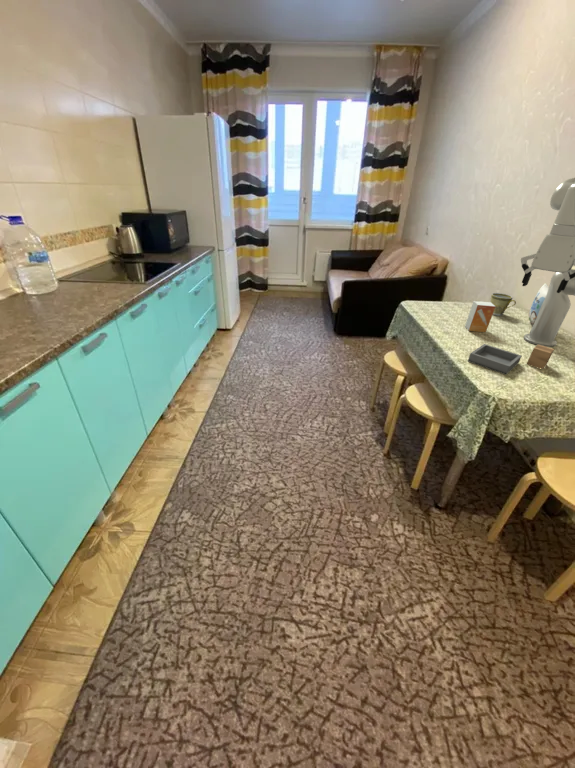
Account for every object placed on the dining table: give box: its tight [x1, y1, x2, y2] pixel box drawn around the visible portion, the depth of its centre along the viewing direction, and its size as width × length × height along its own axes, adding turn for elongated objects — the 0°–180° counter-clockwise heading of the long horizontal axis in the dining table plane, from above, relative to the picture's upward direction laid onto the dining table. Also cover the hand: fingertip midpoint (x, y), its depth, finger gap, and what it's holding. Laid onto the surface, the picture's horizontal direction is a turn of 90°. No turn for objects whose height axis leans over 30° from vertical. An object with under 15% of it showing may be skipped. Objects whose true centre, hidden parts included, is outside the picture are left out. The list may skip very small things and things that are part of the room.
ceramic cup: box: [490, 292, 517, 317], centre depth 178 cm, size 13×10×10 cm
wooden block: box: [526, 344, 555, 370], centre depth 128 cm, size 6×6×7 cm
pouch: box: [528, 282, 549, 326], centre depth 159 cm, size 8×19×20 cm, turn 154°
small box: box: [464, 300, 496, 333], centre depth 156 cm, size 8×6×13 cm
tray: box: [467, 343, 522, 376], centre depth 129 cm, size 14×14×4 cm
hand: (541, 288), depth 107 cm, fingers open, 9 cm apart
